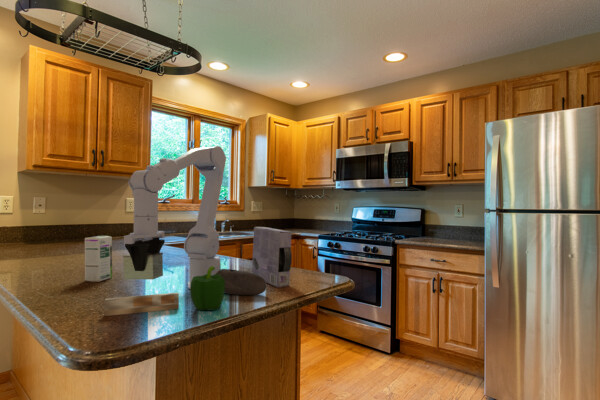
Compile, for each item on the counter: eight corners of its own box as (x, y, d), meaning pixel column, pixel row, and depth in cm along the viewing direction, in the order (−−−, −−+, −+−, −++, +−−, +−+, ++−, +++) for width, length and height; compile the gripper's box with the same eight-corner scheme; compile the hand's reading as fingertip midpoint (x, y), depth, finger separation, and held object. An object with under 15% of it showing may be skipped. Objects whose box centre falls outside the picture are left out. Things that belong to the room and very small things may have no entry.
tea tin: (123, 279, 85) (123, 255, 85) (135, 275, 90) (134, 252, 90) (153, 279, 84) (152, 255, 84) (163, 275, 89) (162, 252, 89)
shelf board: (178, 296, 93) (178, 283, 93) (178, 308, 83) (178, 293, 83) (112, 302, 87) (112, 288, 87) (104, 316, 77) (104, 300, 77)
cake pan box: (292, 286, 105) (293, 230, 105) (279, 288, 102) (279, 230, 102) (263, 275, 121) (264, 226, 121) (251, 277, 118) (251, 226, 118)
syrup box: (99, 281, 110) (99, 237, 110) (84, 281, 111) (84, 237, 111) (112, 278, 116) (112, 235, 116) (97, 277, 117) (98, 235, 117)
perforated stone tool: (269, 294, 97) (269, 269, 97) (262, 299, 92) (263, 273, 92) (222, 290, 101) (222, 267, 101) (213, 295, 96) (213, 270, 96)
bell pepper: (207, 316, 78) (207, 272, 78) (183, 309, 82) (183, 268, 82) (232, 306, 85) (233, 266, 85) (209, 301, 89) (210, 263, 89)
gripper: (148, 215, 95) (147, 263, 95) (112, 217, 81) (111, 274, 80) (171, 215, 94) (171, 264, 94) (139, 217, 79) (139, 275, 79)
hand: (145, 268), depth 87 cm, fingers closed on tea tin, 5 cm apart
